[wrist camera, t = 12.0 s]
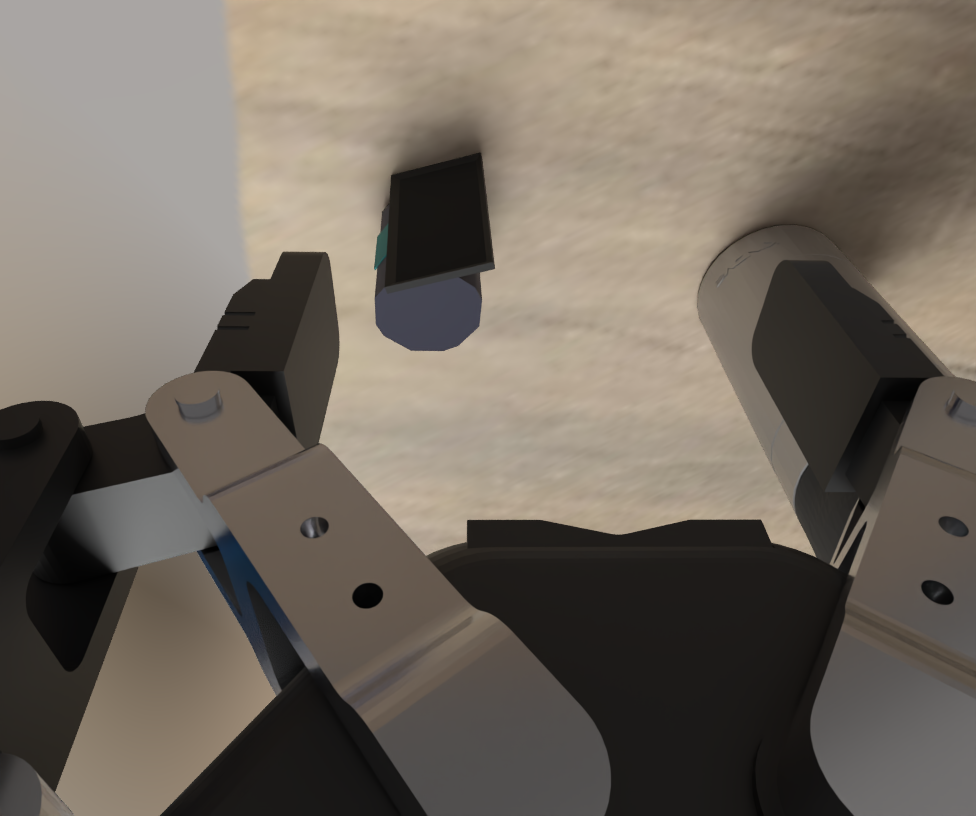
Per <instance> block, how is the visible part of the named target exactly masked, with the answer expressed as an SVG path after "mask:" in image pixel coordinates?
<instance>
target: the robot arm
mask: <svg viewBox="0 0 976 816" xmlns="http://www.w3.org/2000/svg"><path fill="white" fill-rule="evenodd" d="M697 308H698V313H699V318H700V321H701V323H702V325H703V327H704V329H705V331H706V333H707V335H708V337H709V339H710V341H711V343H712V345H713V347H714V350H715V352H716V354H717V356H718V358H719V360H720V362H721V364H722V367H723V369H724V371H725V373H726V375H727V377H728V379H729V381H730V383H731V385H732V387H733V389H734V391H735V393H736V395H737V397H738V399H739V401H740V403H741V405H742V407H743V409H744V411H745V413H746V415H747V417H748V419H749V421H750V423H751V425H752V427H753V429H754V431H755V433H756V435H757V437H758V439H759V442H760V444H761V446H762V448H763V450H764V452H765V454H766V456H767V458H768V460H769V462H770V464H771V466H772V468H773V470H774V472H775V473H776V475H777V477H778V479H779V481H780V483H781V485H782V487H783V489H784V491H785V493H786V496H787V498H788V500H789V502H790V504H791V506H792V508H793V510H794V512H795V514H796V516H797V518H798V520H799V522H800V524H801V526H802V528H803V530H804V531H805V533H806V535H807V538H808V540H809V542H810V544H811V546H812V548H813V550H814V553H815V555H816V557H817V558H816V557H814V556H811V555H809V554H806V553H804V552H801V551H798V550H796V549H792V548H789V547H786V546H782V545H779V544H774V543H771V541H770V539H769V537H768V534H767V532H766V530H765V527H764V525H763V523H762V521H761V520H687V521H682V522H678V523H673V524H669V525H664V526H660V527H655V528H651V529H646V530H642V531H637V532H633V533H628V534H623V535H615V534H608V533H603V532H598V531H593V530H588V529H583V528H578V527H573V526H568V525H563V524H558V523H553V522H548V521H543V520H467V542H465V543H461V544H457V545H453V546H450V547H447V548H444V549H441V550H438V551H436V552H433V553H431V554H429V555H427V556H425V554H424V553H423V552H422V551H421V550H420V549H419V548H418V547H417V546H416V544H415V543H414V542H413V541H412V540H411V539H410V538H409V537H408V536H407V534H406V533H405V532H404V531H403V530H402V529H401V528H400V527H399V526H398V524H397V523H396V522H395V521H394V520H393V519H392V518H391V517H390V516H389V514H388V513H387V512H386V511H385V510H384V509H383V508H382V507H381V506H380V504H379V503H378V502H377V501H376V500H375V499H374V498H373V497H372V496H371V494H370V493H369V492H368V491H367V490H366V489H365V488H364V487H363V486H362V484H361V483H360V482H359V481H358V480H357V479H356V478H355V477H354V476H353V474H352V473H351V472H350V471H349V470H348V469H347V468H346V467H345V466H344V465H343V463H342V462H341V461H340V460H339V459H338V458H337V457H336V456H335V455H334V453H333V452H332V451H331V450H330V449H329V448H328V447H326V446H325V445H323V444H320V443H319V439H320V435H321V431H322V426H323V422H324V418H325V414H326V410H327V406H328V401H329V397H330V393H331V389H332V385H333V381H334V377H335V372H336V368H337V364H338V358H339V328H338V320H337V312H336V304H335V296H334V289H333V281H332V273H331V266H330V260H329V257H328V254H327V253H326V252H283V253H282V254H281V256H280V259H279V261H278V263H277V265H276V268H275V270H274V272H273V274H272V277H271V279H253V280H252V281H250V282H249V283H248V284H246V285H245V286H244V287H242V288H241V289H240V290H239V291H238V292H236V293H235V294H233V296H232V298H231V300H230V302H229V304H228V306H227V308H226V310H225V315H223V316H222V318H221V320H220V322H219V324H218V329H217V330H215V332H214V334H213V336H212V338H211V340H210V342H209V343H208V346H207V348H206V349H205V352H204V354H203V355H202V357H201V359H200V361H199V363H198V365H197V367H196V369H195V371H194V373H191V374H188V375H184V376H181V377H178V378H176V379H174V380H172V381H170V382H168V383H166V384H164V385H163V386H162V387H160V388H159V389H158V390H157V391H156V392H154V393H153V394H152V396H151V397H150V398H149V400H148V402H147V404H146V408H145V414H141V415H138V416H134V417H130V418H125V419H121V420H115V421H110V422H105V423H100V424H95V425H90V426H85V427H83V426H82V424H81V421H80V419H79V417H78V415H77V413H76V412H75V411H74V410H73V409H72V408H71V407H69V406H67V405H65V404H62V403H59V402H53V401H33V402H27V403H21V404H17V405H13V406H10V407H7V408H4V409H1V410H0V816H74V815H73V813H72V811H71V810H70V809H69V808H68V807H67V805H65V803H64V802H63V801H62V800H61V799H60V798H59V796H58V795H57V794H56V793H55V791H56V788H57V785H58V782H59V780H60V777H61V775H62V772H63V769H64V766H65V764H66V761H67V758H68V756H69V753H70V750H71V748H72V745H73V742H74V740H75V737H76V734H77V731H78V729H79V726H80V723H81V721H82V718H83V715H84V713H85V710H86V707H87V704H88V702H89V699H90V696H91V694H92V691H93V688H94V686H95V683H96V680H97V677H98V675H99V672H100V669H101V667H102V664H103V661H104V658H105V656H106V653H107V651H108V648H109V645H110V643H111V640H112V637H113V634H114V632H115V629H116V626H117V624H118V621H119V618H120V615H121V613H122V610H123V607H124V605H125V602H126V599H127V597H128V594H129V591H130V588H131V586H132V583H133V581H134V578H135V575H136V572H137V570H138V567H139V566H141V565H144V564H149V563H152V562H156V561H160V560H164V559H168V558H171V557H175V556H179V555H183V554H187V553H191V552H195V551H197V553H198V555H199V557H200V558H201V560H202V562H203V563H204V565H205V567H206V568H207V570H208V572H209V574H210V575H211V577H212V579H213V580H214V582H215V584H216V585H217V587H218V589H219V590H220V592H221V594H222V595H223V597H224V599H225V600H226V602H227V604H228V605H229V607H230V609H231V611H232V612H233V614H234V615H235V617H236V619H237V621H238V622H239V624H240V626H241V627H242V629H243V630H244V632H245V634H246V636H247V638H248V640H249V642H250V644H251V646H252V648H253V650H254V652H255V654H256V657H257V659H258V661H259V663H260V665H261V667H262V670H263V672H264V674H265V676H266V677H267V679H268V681H269V683H270V685H271V687H272V689H273V691H274V692H275V694H276V697H275V698H274V699H273V700H272V701H271V702H270V703H269V704H268V705H267V706H266V707H265V709H263V710H262V712H260V714H259V715H258V716H257V717H256V718H255V719H254V720H253V721H252V722H251V723H250V724H249V725H248V726H247V727H246V728H245V729H244V730H243V731H242V732H241V733H240V734H239V735H238V736H237V737H236V738H235V739H234V740H233V741H232V742H231V743H230V744H229V745H228V746H227V747H226V748H225V749H224V750H223V751H222V753H221V754H220V755H219V756H218V757H217V758H216V759H215V760H214V761H213V762H212V763H211V764H210V765H209V766H208V767H207V768H206V769H205V770H204V771H203V772H202V773H201V774H200V775H199V776H198V777H197V778H196V779H195V780H194V781H193V782H192V783H191V784H190V785H189V787H187V789H185V790H184V792H182V794H181V795H180V796H179V797H178V798H177V799H176V800H175V801H174V802H173V803H172V804H171V805H170V806H169V807H168V808H167V809H166V810H165V811H164V812H163V813H162V814H161V815H160V816H976V382H975V381H972V380H968V379H963V378H958V377H955V375H954V374H952V373H951V372H950V371H949V369H948V368H947V367H946V366H945V365H944V364H943V363H942V362H941V361H940V360H939V359H938V357H937V356H936V355H935V354H934V353H933V352H932V351H931V350H930V349H929V348H928V346H927V345H926V344H925V343H924V342H923V341H922V340H921V339H920V338H919V337H918V336H917V334H916V333H915V332H914V331H913V330H912V329H911V328H910V327H909V326H908V325H907V323H906V322H905V321H904V320H903V319H902V318H901V317H900V316H899V315H898V314H897V312H896V311H895V310H894V309H893V308H892V307H891V306H890V305H889V304H888V303H887V302H886V300H885V299H884V298H883V297H882V296H881V295H880V294H879V293H878V292H877V291H876V289H875V288H874V287H873V286H872V285H871V284H870V283H869V282H868V281H867V280H866V278H865V277H864V276H863V275H862V274H861V273H860V271H859V270H858V269H857V268H856V267H855V266H854V265H853V264H852V263H851V262H850V261H849V260H848V258H847V257H846V256H845V255H844V254H843V253H842V252H841V251H840V250H839V249H838V248H837V246H836V245H835V244H834V243H833V242H832V241H831V240H830V239H828V238H827V237H826V236H825V235H824V234H822V233H821V232H818V231H816V230H814V229H812V228H809V227H804V226H798V225H778V226H774V227H769V228H765V229H761V230H759V231H756V232H754V233H751V234H749V235H747V236H745V237H743V238H742V239H740V240H739V241H737V242H735V243H734V244H732V245H731V246H730V247H729V248H727V249H726V250H725V251H724V252H723V253H722V254H721V255H719V257H718V258H717V259H716V260H715V262H714V263H713V264H712V265H711V266H710V268H709V269H708V271H707V273H706V275H705V277H704V279H703V280H702V283H701V286H700V290H699V293H698V304H697Z"/></svg>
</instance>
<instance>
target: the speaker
mask: <svg viewBox="0 0 976 816" xmlns="http://www.w3.org/2000/svg"><path fill="white" fill-rule="evenodd" d="M374 269H375V270H376V269H377V279H376V290H375V314H376V325H377V327H378V328H379V329H380V331H381V332H382V334H383V335H384V336H385V337H387V338H389V339H391V340H393V341H394V342H396V343H398V344H400V345H402V346H404V347H405V348H407V349H409V350H411V351H445V350H447V349H450V348H453V347H456V346H458V345H460V344H461V343H462V342H463V341H464V340H465V339H466V338H467V337H468V336H469V335H470V334H471V333H473V332H474V331H475V330H476V329H477V328H478V327H479V323H480V314H481V304H482V295H481V282H480V272H484V271H488V270H492V269H495V265H494V256H493V248H492V239H491V231H490V222H489V213H488V205H487V196H486V187H485V179H484V170H483V161H482V156H481V153H478V154H474V155H470V156H466V157H462V158H458V159H454V160H450V161H446V162H442V163H438V164H434V165H430V166H427V167H423V168H419V169H415V170H411V171H407V172H403V173H399V174H395V175H391V188H390V203H389V205H388V206H387V207H386V208H385V209H384V210H383V212H382V221H381V233H380V234H379V235H378V237H377V245H376V255H375V265H374Z"/></svg>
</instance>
